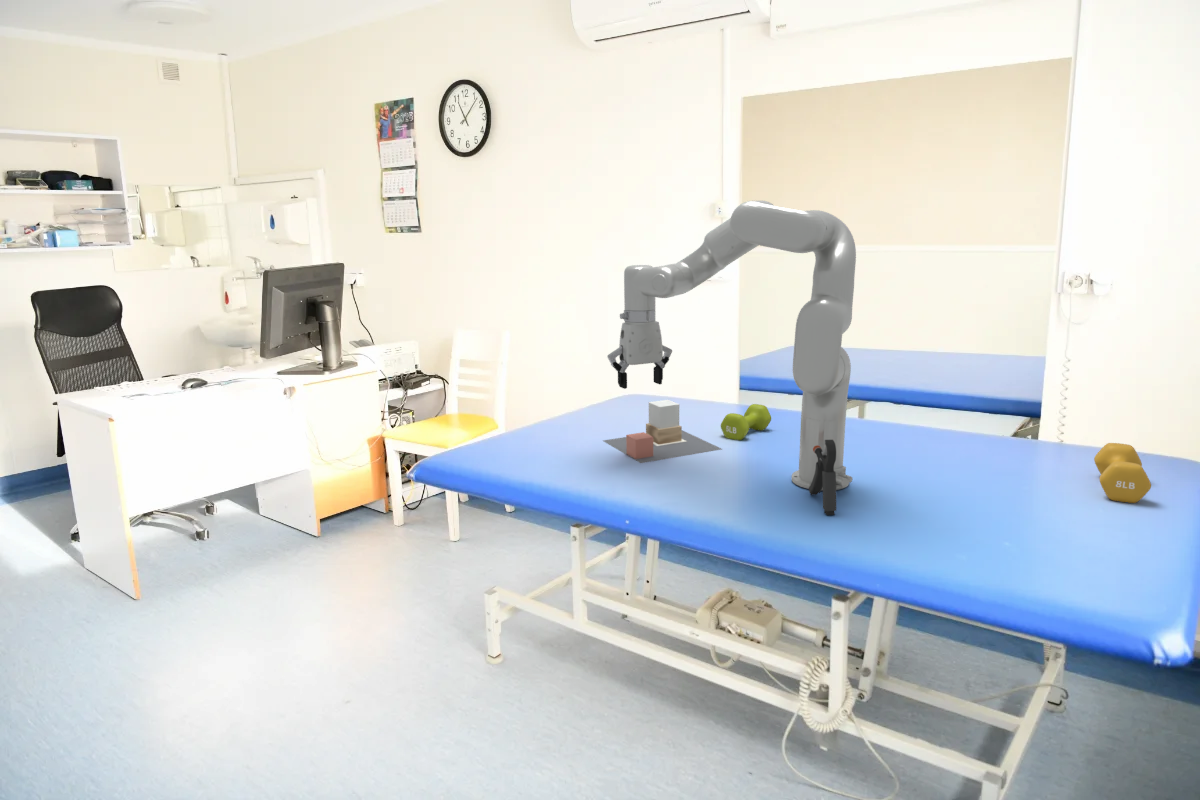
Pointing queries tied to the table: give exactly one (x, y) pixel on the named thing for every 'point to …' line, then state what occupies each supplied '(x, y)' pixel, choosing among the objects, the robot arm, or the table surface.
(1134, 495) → the dumbbell
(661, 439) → the oak base
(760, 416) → the dumbbell
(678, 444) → the grey mat
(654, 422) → the grey cube
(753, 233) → the robot arm
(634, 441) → the red cube
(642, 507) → the table surface
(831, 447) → the hand grip strengthener
